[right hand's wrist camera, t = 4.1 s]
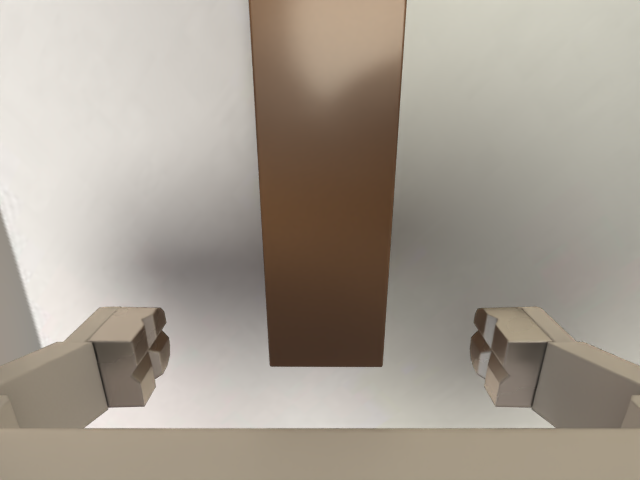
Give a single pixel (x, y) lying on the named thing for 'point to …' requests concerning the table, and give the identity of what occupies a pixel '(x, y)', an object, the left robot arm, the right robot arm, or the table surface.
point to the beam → (327, 173)
